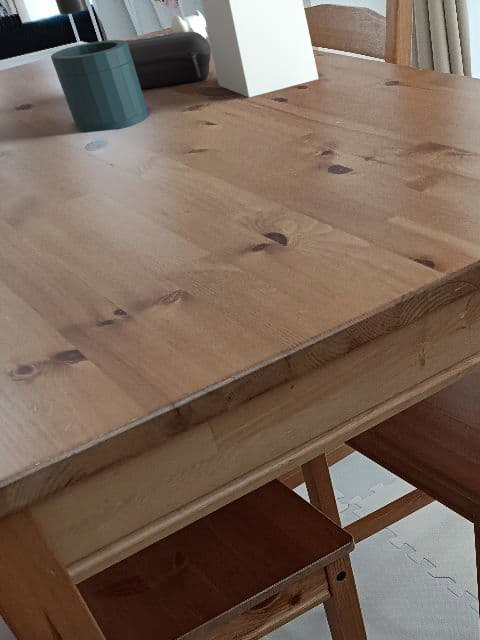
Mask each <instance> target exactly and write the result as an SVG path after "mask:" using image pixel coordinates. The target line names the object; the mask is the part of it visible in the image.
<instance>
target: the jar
mask: <svg viewBox="0 0 480 640" xmlns="http://www.w3.org/2000/svg"><path fill="white" fill-rule="evenodd" d="M50 59H51V61H52V64H53V68H54V70H55V73H56V75H57V78H58V82H59V84H60V87H61V89H62V92H63V95H64V98H65V100H66V103H67V106H68V108H69V112H70V115H71V117H72V120H73V123H74V124H75V126H76V129H77V131H79V132H82V133H94V132H105V131H115V130H120V129H123V128H128V127H130V126H134V125H136V124H139V123H141V122H143V121H144V120H146V119H147V118H148V117H149V112H148V108H147V104H146V101H145V97H144V94H143V89H141V87H140V83H139V80H138V77H137V73H136V70H135V67H134V63H133V60H132V57H131V53H130V50H129V47H128V43H127V42H126V41H125V39H124V40H123V39H109V40H100V41H99V40H98V41H94V42H93V41H92V42H87V43H82V44H78V45H77V44H76V45H74V46H69V47H65V48H63V49H60V50H58V51H56V52H54V53H52V54H51V56H50Z"/></svg>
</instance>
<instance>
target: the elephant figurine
mask: <svg viewBox="0 0 480 640" xmlns="http://www.w3.org/2000/svg"><path fill="white" fill-rule="evenodd" d="M170 28H171V31H172V33H178V32H197V33H199V34H201V35H202V36H203V37H204V38H205V39H206V40H207V38H209V35H208V32H207V31H206V28H207V24H206V19H205V16H203V14H202V13H201V12H200V11H199V10H197V9H196V10H194V11H193V14H192V15H187V16H183V17H180V16H179V15H174V16H173V17H172V19H171V23H170Z"/></svg>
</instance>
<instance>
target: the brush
mask: <svg viewBox="0 0 480 640" xmlns="http://www.w3.org/2000/svg"><path fill="white" fill-rule="evenodd" d="M55 3H56V6H57V9H58V12H59V14H60V15H73V14H78V13H82V12H85V11H88V10H89V7H88V4H87V0H55Z"/></svg>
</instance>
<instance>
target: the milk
mask: <svg viewBox="0 0 480 640" xmlns="http://www.w3.org/2000/svg"><path fill="white" fill-rule="evenodd" d="M201 4H202V9H203V14H204V19H205V21H206V28H207V35H208V39H209V45H210V50H211V55H212V59H213V63H214V68H215V74H216V78H217V84H218V86H219V87H222V88H224V89H227V90H229V91H232V92H234V93H237V94H239V95H242V96H245V97H247V98H252V97H256V96H260V95H263V94H268V93H271V92H275V91H279V90H283V89H287V88H291V87H293V86H298V85H303V84H305V83H309V82H313V81H317V80H319V74H318V67H317V64H316V60H315V59H316V58H315V54H314V50H313V44H312V40H311V35H310V30H309V25H308V22H307V21H308V20H307V16H306V11H305V6H304V1H303V0H201Z"/></svg>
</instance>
